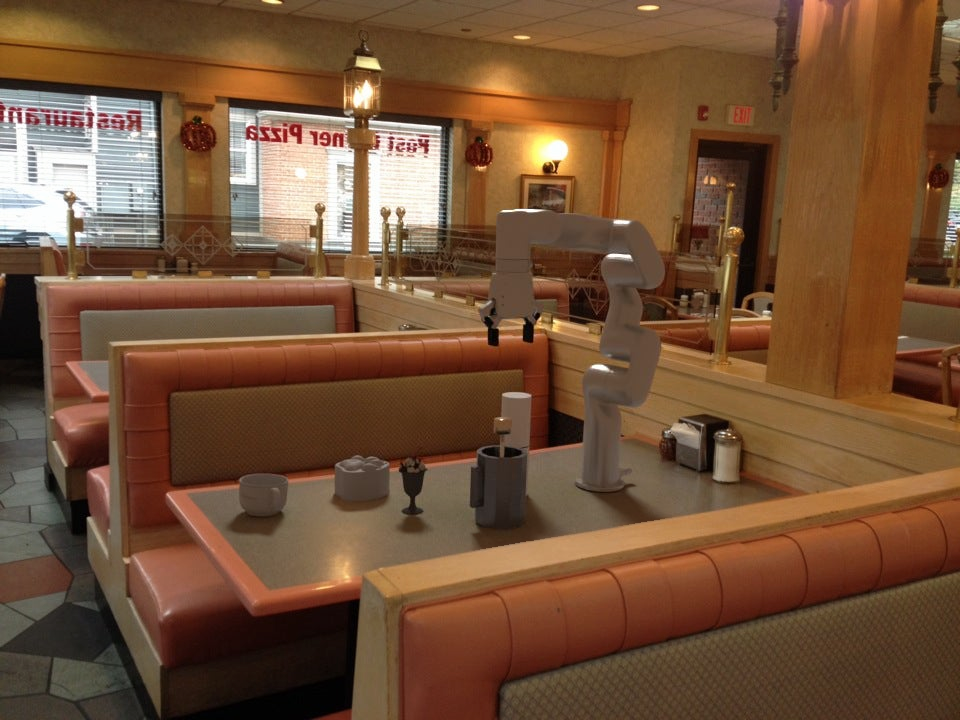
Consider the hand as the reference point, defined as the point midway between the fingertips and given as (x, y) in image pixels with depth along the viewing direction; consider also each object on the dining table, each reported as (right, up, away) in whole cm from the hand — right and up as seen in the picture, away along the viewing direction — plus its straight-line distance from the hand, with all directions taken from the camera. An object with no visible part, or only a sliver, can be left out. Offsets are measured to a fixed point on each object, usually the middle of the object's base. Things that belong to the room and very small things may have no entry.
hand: (510, 344), depth 194 cm
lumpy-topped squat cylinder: (-35, -36, +19) cm, 54 cm away
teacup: (-55, -39, +2) cm, 67 cm away
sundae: (-22, -39, +7) cm, 45 cm away
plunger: (-2, -38, +2) cm, 38 cm away
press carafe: (-3, -40, +2) cm, 40 cm away
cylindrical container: (+1, -37, +22) cm, 43 cm away
